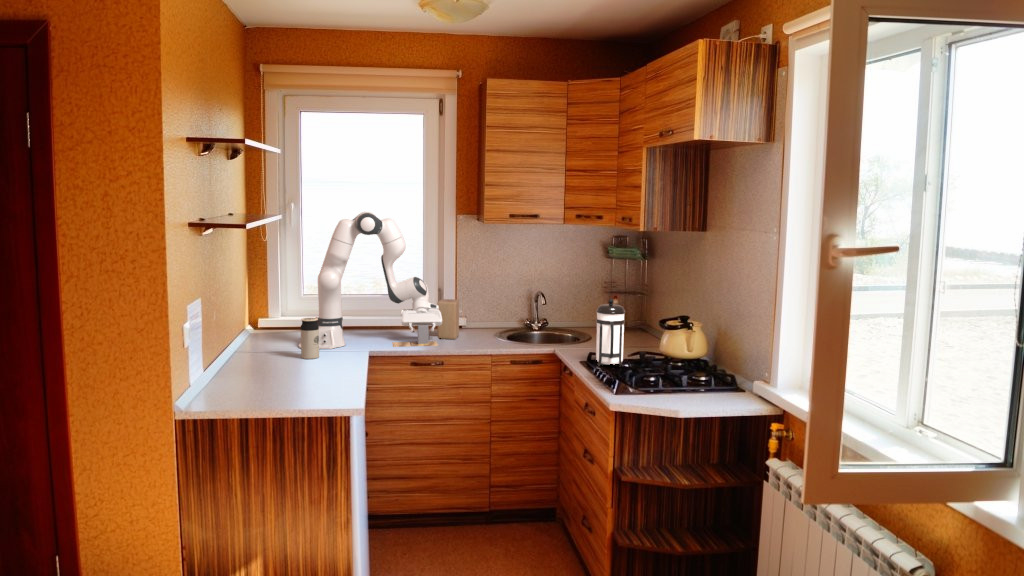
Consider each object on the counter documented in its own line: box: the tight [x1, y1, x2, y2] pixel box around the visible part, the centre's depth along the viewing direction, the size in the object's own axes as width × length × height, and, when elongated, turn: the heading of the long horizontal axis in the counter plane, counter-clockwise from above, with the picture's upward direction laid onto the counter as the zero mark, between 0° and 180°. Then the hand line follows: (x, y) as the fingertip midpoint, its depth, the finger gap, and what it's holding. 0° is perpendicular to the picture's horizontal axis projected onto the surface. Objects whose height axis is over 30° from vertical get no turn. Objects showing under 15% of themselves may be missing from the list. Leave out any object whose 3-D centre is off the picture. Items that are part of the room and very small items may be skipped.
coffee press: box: [595, 298, 626, 366], centre depth 338 cm, size 17×16×30 cm
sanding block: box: [417, 325, 430, 345], centre depth 378 cm, size 5×5×9 cm
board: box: [391, 340, 439, 348], centre depth 377 cm, size 22×12×2 cm, turn 101°
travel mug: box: [300, 317, 320, 360], centre depth 349 cm, size 8×8×18 cm
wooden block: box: [436, 298, 460, 340], centre depth 402 cm, size 10×10×20 cm
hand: (422, 331), depth 378 cm, fingers open, 8 cm apart
